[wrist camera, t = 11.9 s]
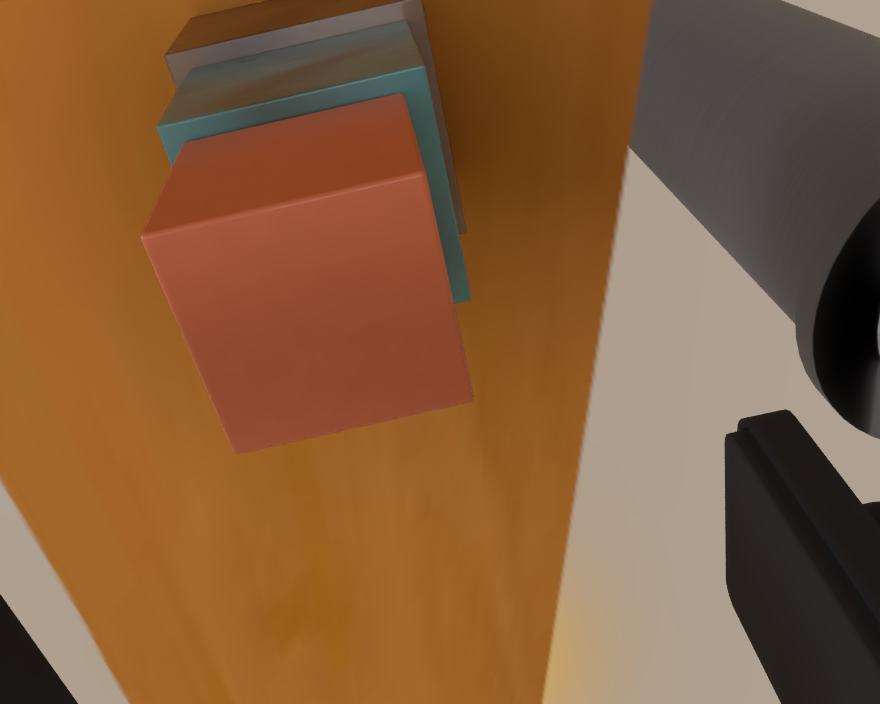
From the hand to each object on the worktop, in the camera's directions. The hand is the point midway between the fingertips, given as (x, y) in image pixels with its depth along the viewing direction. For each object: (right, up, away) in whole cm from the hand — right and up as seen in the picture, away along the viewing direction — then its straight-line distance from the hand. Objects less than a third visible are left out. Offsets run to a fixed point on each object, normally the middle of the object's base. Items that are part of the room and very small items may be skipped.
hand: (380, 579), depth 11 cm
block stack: (-3, +11, +17) cm, 21 cm away
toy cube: (-2, +6, +9) cm, 11 cm away
